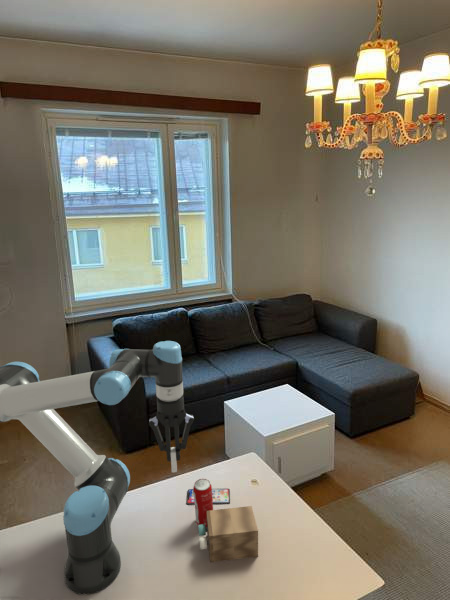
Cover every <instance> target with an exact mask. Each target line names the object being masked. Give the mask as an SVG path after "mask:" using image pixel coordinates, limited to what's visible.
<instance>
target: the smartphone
mask: <svg viewBox="0 0 450 600" xmlns="http://www.w3.org/2000/svg"><path fill="white" fill-rule="evenodd" d="M186 495H187V496H186V505H187V506H195V502H194V490H193V488H189V489H187V494H186ZM212 500H213V505H230V504H231V491H230V488H212Z"/></svg>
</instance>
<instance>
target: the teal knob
mask: <svg viewBox="0 0 450 600" xmlns="http://www.w3.org/2000/svg"><path fill="white" fill-rule="evenodd" d="M197 526H198V527H197V528H198V536H199V537H205V536H207V534H206V533H207V532H208V527H205V524H201V525H197Z"/></svg>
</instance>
